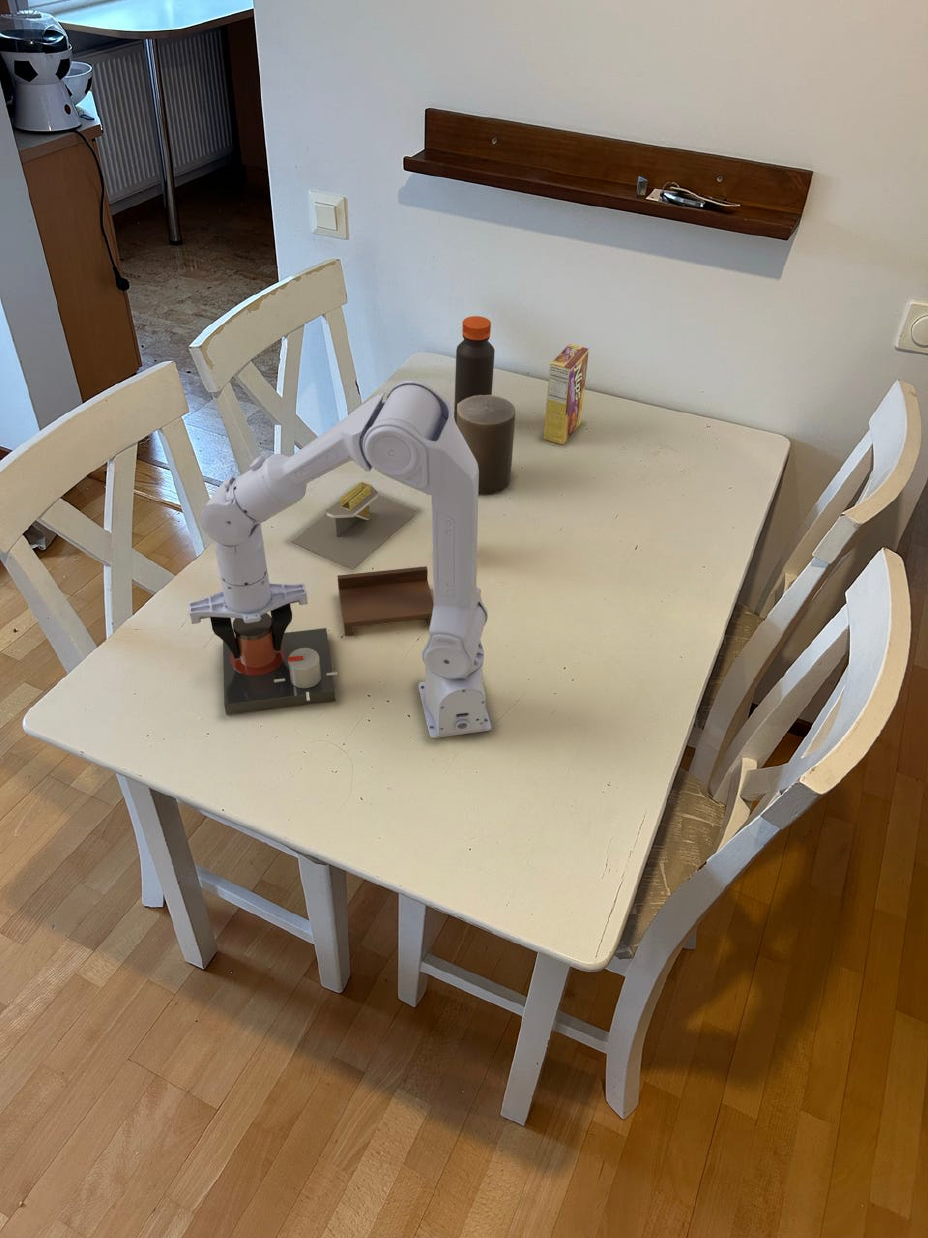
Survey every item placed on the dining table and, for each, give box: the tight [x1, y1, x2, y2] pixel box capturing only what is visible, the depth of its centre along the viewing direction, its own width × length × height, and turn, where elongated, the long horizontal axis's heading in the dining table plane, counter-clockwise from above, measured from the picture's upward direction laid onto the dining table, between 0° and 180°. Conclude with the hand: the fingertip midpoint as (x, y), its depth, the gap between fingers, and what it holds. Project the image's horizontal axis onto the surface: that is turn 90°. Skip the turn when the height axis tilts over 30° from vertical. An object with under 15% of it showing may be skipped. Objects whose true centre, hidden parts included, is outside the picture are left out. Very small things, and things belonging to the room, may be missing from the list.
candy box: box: [543, 343, 590, 445], centre depth 165 cm, size 9×4×15 cm, turn 152°
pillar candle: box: [457, 394, 516, 496], centre depth 153 cm, size 10×10×15 cm
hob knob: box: [288, 648, 321, 688], centre depth 118 cm, size 4×4×4 cm
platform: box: [291, 481, 419, 570], centre depth 145 cm, size 12×18×7 cm, turn 149°
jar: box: [232, 612, 276, 668], centre depth 120 cm, size 5×5×6 cm
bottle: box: [453, 315, 495, 425], centre depth 164 cm, size 7×7×20 cm
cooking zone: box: [230, 645, 285, 676], centre depth 122 cm, size 7×7×1 cm
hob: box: [222, 627, 338, 716], centre depth 121 cm, size 13×15×2 cm
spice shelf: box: [336, 565, 434, 636], centre depth 131 cm, size 8×13×4 cm, turn 102°
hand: (256, 649), depth 121 cm, fingers closed on jar, 5 cm apart
